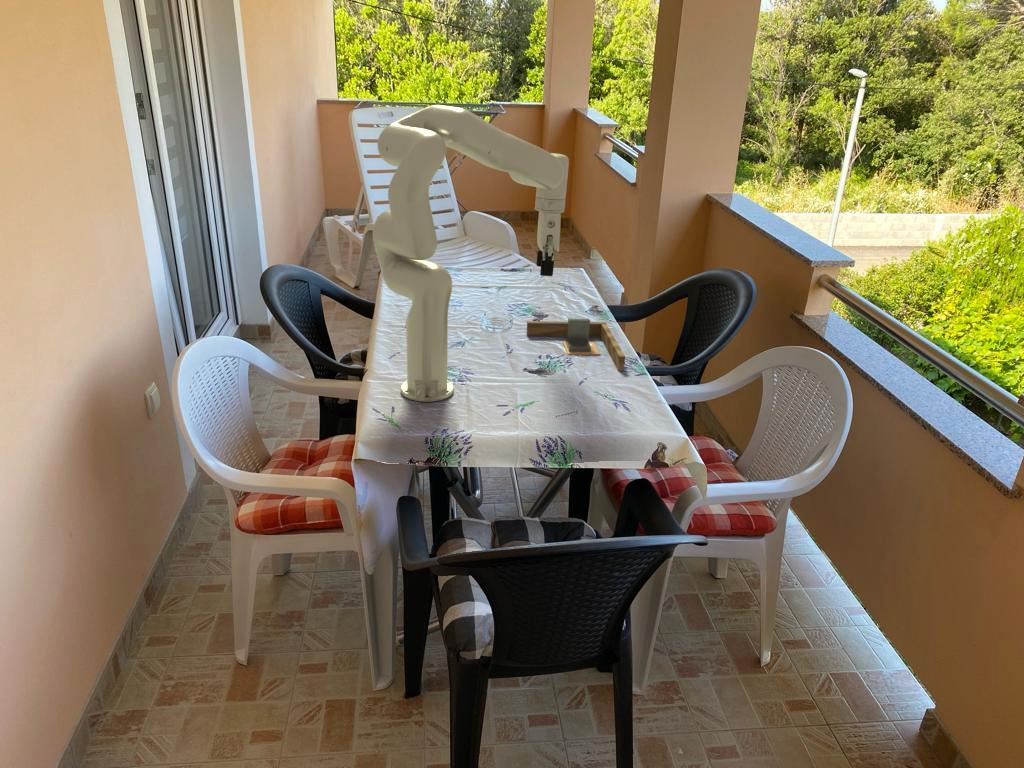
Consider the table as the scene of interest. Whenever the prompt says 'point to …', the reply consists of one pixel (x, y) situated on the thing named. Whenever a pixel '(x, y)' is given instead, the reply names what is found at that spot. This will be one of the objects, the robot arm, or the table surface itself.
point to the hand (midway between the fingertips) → (544, 270)
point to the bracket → (578, 335)
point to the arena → (594, 331)
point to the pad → (593, 352)
